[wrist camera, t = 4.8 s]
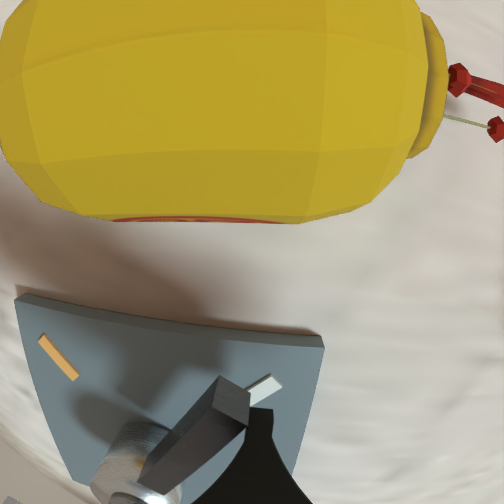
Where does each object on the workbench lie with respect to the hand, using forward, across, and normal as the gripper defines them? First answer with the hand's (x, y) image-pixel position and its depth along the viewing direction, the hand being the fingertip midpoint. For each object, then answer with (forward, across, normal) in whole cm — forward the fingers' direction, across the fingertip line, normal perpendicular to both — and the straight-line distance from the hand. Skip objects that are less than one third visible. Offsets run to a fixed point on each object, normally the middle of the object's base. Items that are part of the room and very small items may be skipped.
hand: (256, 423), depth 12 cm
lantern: (+5, +3, -13) cm, 14 cm away
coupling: (+3, +4, +4) cm, 6 cm away
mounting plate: (+4, +6, +7) cm, 10 cm away
